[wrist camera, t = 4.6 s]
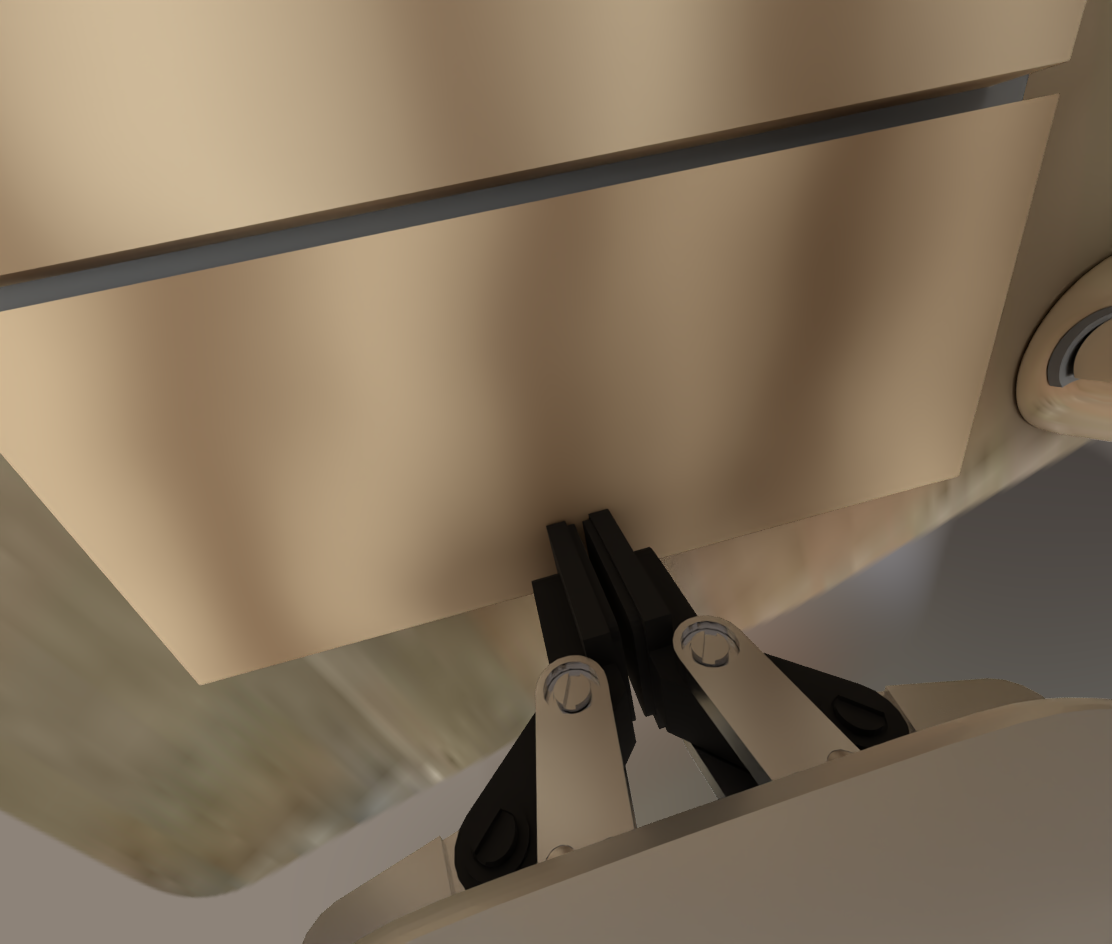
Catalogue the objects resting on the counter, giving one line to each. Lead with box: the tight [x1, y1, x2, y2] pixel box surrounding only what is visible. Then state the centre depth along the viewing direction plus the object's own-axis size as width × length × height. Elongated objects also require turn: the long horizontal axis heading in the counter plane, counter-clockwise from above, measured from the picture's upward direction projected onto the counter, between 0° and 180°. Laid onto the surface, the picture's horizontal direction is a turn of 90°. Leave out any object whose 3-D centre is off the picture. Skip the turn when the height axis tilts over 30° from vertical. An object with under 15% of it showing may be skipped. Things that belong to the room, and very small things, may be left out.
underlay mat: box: [0, 74, 1029, 312], centre depth 9 cm, size 24×20×1 cm
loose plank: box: [0, 93, 1060, 685], centre depth 11 cm, size 22×9×2 cm, turn 101°
